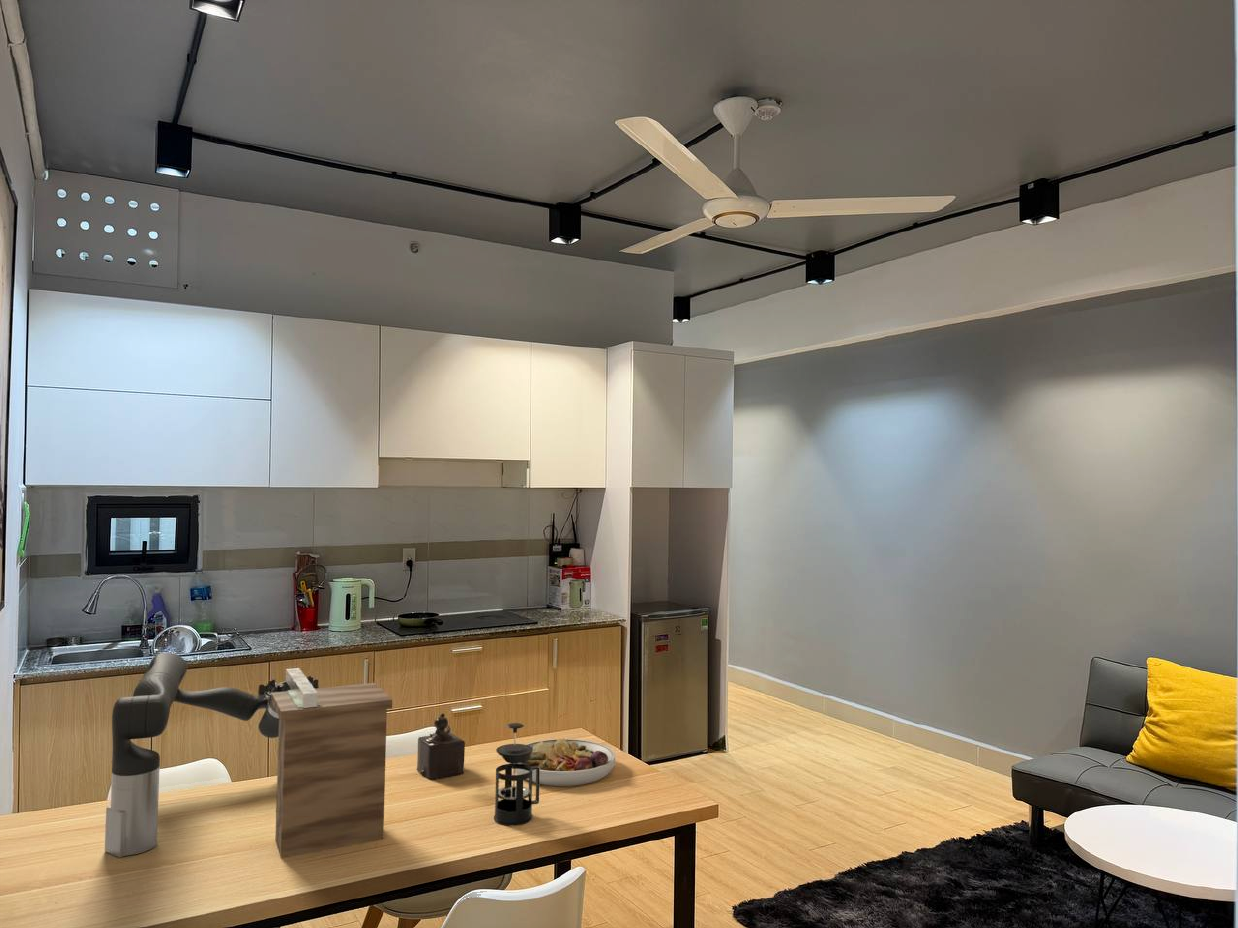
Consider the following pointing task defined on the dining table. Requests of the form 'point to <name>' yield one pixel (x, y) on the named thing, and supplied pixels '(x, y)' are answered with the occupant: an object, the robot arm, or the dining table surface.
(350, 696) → the upright wood-grain block
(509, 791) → the french press
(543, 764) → the bowl
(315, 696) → the white rectangular bar
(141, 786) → the robot arm
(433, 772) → the manual coffee grinder
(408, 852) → the dining table surface
